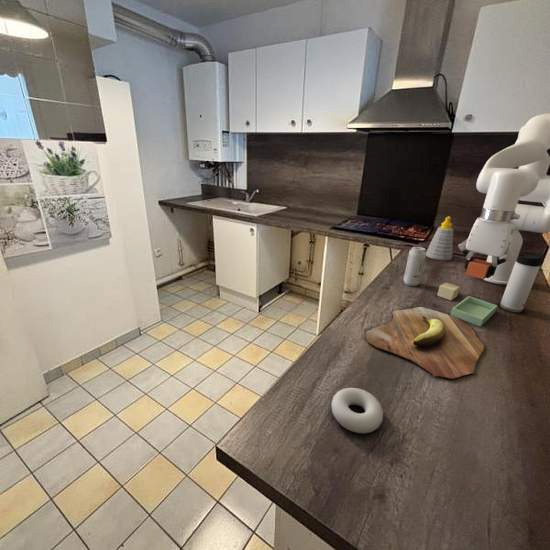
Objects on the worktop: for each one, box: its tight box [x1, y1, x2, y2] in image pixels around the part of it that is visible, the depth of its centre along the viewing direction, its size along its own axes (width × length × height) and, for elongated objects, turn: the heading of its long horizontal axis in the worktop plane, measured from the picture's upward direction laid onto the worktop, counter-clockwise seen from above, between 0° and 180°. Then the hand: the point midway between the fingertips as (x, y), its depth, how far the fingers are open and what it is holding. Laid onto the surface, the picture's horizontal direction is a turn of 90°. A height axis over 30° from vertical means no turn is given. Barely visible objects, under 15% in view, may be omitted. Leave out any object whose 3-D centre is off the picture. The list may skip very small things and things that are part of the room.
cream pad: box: [436, 282, 461, 301], centre depth 108 cm, size 6×5×4 cm
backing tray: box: [450, 295, 498, 327], centre depth 96 cm, size 14×9×3 cm, turn 130°
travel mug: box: [499, 252, 546, 313], centre depth 97 cm, size 6×7×20 cm
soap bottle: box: [425, 215, 454, 262], centre depth 147 cm, size 12×12×20 cm
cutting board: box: [365, 306, 485, 380], centre depth 84 cm, size 35×27×4 cm
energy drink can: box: [403, 246, 427, 287], centre depth 116 cm, size 6×6×15 cm
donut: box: [330, 387, 384, 434], centre depth 58 cm, size 10×4×10 cm
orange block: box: [465, 258, 491, 280], centre depth 90 cm, size 6×5×4 cm
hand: (478, 273), depth 90 cm, fingers closed on orange block, 5 cm apart
